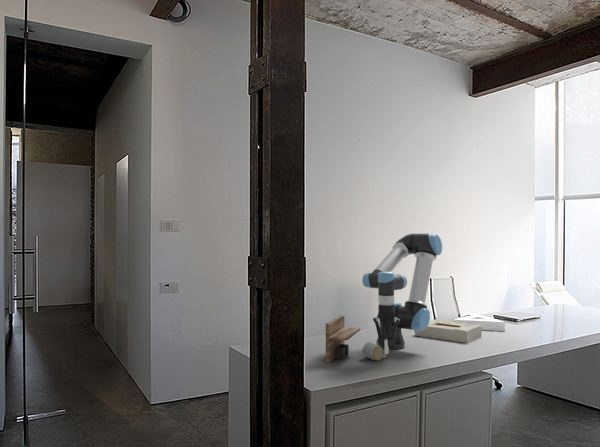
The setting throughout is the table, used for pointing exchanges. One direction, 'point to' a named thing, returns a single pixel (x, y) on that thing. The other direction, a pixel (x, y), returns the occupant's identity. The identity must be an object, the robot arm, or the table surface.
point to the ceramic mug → (373, 351)
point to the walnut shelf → (338, 338)
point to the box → (451, 331)
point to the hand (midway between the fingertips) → (386, 353)
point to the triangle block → (483, 322)
